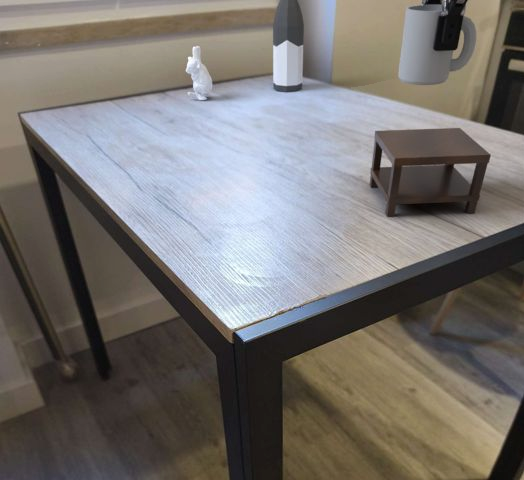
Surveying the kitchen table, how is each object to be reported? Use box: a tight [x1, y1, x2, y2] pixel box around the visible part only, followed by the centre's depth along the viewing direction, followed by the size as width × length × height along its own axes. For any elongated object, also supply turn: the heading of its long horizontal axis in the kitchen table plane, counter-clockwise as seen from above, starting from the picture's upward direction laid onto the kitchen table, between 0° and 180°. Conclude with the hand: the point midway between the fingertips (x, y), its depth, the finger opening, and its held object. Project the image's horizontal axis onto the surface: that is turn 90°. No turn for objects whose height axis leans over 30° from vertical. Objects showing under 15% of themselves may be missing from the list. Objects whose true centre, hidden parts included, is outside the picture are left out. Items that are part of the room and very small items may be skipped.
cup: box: [397, 4, 477, 86], centre depth 72 cm, size 7×10×9 cm
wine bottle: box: [272, 0, 305, 93], centre depth 133 cm, size 8×8×30 cm
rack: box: [369, 127, 492, 217], centre depth 81 cm, size 14×13×9 cm
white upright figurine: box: [185, 45, 213, 101], centre depth 132 cm, size 8×7×12 cm
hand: (436, 44), depth 72 cm, fingers closed on cup, 7 cm apart
